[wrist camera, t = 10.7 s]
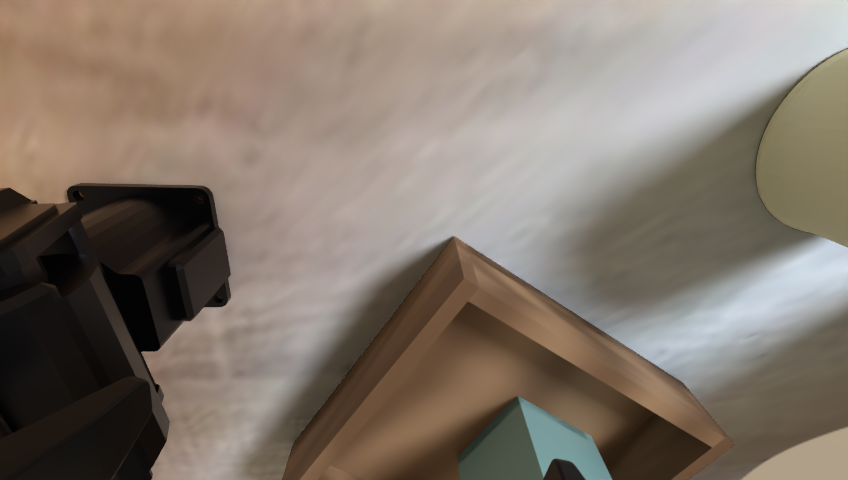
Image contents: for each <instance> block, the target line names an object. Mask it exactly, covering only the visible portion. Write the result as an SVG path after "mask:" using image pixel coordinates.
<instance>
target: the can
mask: <svg viewBox="0 0 848 480" xmlns="http://www.w3.org/2000/svg"><path fill="white" fill-rule="evenodd" d="M756 182H757V188H758V192H759V195H760V197H761V200H762V202H763V203H764V205H765V207H766V208H767V209H768V211H769V212H770V213H771V214H772V215H773V216H774V217H775V218H776V219H778V220H779V221H780V222H782V223H783V224H785V225H787V226H789V227H792V228H794V229H797V230H801V231H805V232H811V233H813V234H816V235H818V236H821V237H824V238H826V239H829V240H831V241H833V242H836V243H838V244H841V245H843V246H845V247H848V49H846V50H844V51H842V52H840V53H838V54H836V55H834V56H833V57H831V58H829V59H828V60H826V61H825V62H823V63H822V64H820V65H819V66H818V67H816V68H815V69H814V70H812V71H811V72H810V73H809V74H808V75H807V76H805V77H804V78H803V79H802V80H801V81H800V82H799V83H798V84H797V85H796V86H795V87H794V88H793V89H792V91H791V92H790V93H789V94H788V95H787V96H786V98H785V99H784V100H783V101H782V103H781V104H780V106H779V107H778V108H777V110H776V111H775V113H774V115H773V116H772V118H771V120H770V121H769V124H768V126H767V128H766V130H765V132H764V134H763V137H762V140H761V143H760V146H759V150H758V155H757V161H756Z"/></svg>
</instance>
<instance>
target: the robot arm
mask: <svg viewBox="0 0 848 480" xmlns="http://www.w3.org/2000/svg"><path fill="white" fill-rule="evenodd" d="M79 191H80V192H82V193H83V195H84V198H83V197H81V196H80V194H79ZM197 193H200V194H202V195H203V197H204V201H202V200H200V199H199V198H198V197H197ZM67 195H68V199H69V202H70V203H63V204H38V203H37V201H36V200H34V201H32V200H30V199H28V198H26V197H25V196H23V195H21V194H20V193H18V192H16V191H14V190H13V189H11V188H2V189H0V480H151V479H152V476H153V473H152V471H151V468H152V466H153V465H154V463H155V461H156V459H157V458H158V456H159V454H160V452H161V450H162V449H163V447H164V445H165V443H166V441H167V435H168V429H169V423H170V421H169V419H168V416H167V414H166V412H165V410H164V408H163V405H162V401H163V397H164V395H163V392H162V390H161V388H160V386H159V385H158V384H155V382H154V380H153V377H152V375H151V373H150V371H149V369H148V366H147V364H146V362H145V360H144V358H143V356H142V353H141V352H143V351H158V350H159V349H160V348H161V347H162V345H163V344H164V343H165V342H166V341H167V340H168V339H169V337H170V336H171V335H172V334H173V333H174V332H175V331H176V329H177V328H178V327H179V326H180V325H181V324H182V323H183V321H191V320H193V319H194V318H195V317H196V315H197V314H198V313H199V312H200V311H201V309H202V308H203V307H223V306H225V305H226V304H227V303H228V301H229V300H230V298H231V293H230V288H229V282H228V277H229V276H230V274H231V273H230V267H229V261H228V255H227V250H226V244H225V238H224V233H223V231H222V230H221V229H220V228H219V226H218V220H217V215H216V209H215V203H214V198H213V194H212V192H211V191H210V190H209V189H208V188H207V187H205V186H193V185H144V184H94V183H80V184H76V185H73V186H71V187H70V188H68V191H67ZM217 295H220V296H222V298H223V299H219V298H218V297H217ZM543 480H586V479H585V478H584V476H583V475H582V474H581V472H580V471H579V470H578V468H577V467H576V466H575V464H574V463H572V462H571V461H568V460H562V459H557V458H555V459H553V460H552V461H551V463H550V465H549V467H548V469H547V472H546V474H545V476H544V478H543Z"/></svg>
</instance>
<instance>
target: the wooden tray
mask: <svg viewBox="0 0 848 480" xmlns="http://www.w3.org/2000/svg"><path fill="white" fill-rule="evenodd" d="M517 396H519V397H521V398H523V399H525V400H526V401H528V402H530V403H532V404H534V405H535V406H537V407H539V408H541V409H543V410H545V411H546V412H548V413H550V414H552V415H554V416H556V417H557V418H559V419H561V420H563V421H565V422H566V423H568V424H570V425H572V426H574V427H576V428H577V429H579V430H581V431H583V432H585V433H587V434H588V435H590V436H592V438H593V441H594V443H595V445H596V447H597V449H598V451H599V453H600V455H601V457H602V459H603V461H604V463H605V466H606V468H607V470H608V472H609V474H610V476H611V478H612V480H688V479H690V478H691V477H692V476H694V475H695V474H696V473H698V472H699V471H700V470H701V469H703V468H704V467H705V466H707V465H708V464H709V463H711V462H712V461H713V460H715V459H716V458H717V457H719V456H720V455H721V454H723V453H724V452H725V451H726V450H728V449H729V448H730V447H732V446H733V445H734V443H733V442H732V441H731V440H730V438H729V437H728V436H727V435H726V434H725V432H724V431H723V430H722V429H721V428H720V426H719V425H718V424H717V423H716V422H715V421H714V419H713V418H712V417H711V416H710V415H709V413H708V412H707V411H706V410H705V409H704V407H703V406H702V405H701V404H700V403H699V402H698V400H697V399H696V398H695V397H694V396H693V394H692V393H691V392H690V391H689V390H688V388H687V387H686V386H685V385H684V384H683V383H682V382H681V381H679V380H678V379H676V378H674V377H673V376H671V375H670V374H668V373H667V372H665V371H664V370H662V369H660V368H659V367H657V366H656V365H654V364H653V363H651V362H649V361H648V360H646V359H645V358H643V357H642V356H640V355H639V354H637V353H635V352H634V351H632V350H631V349H629V348H628V347H626V346H625V345H623V344H621V343H620V342H618V341H617V340H615V339H614V338H612V337H611V336H609V335H607V334H606V333H604V332H603V331H601V330H600V329H598V328H596V327H595V326H593V325H592V324H590V323H589V322H587V321H586V320H584V319H582V318H581V317H579V316H578V315H576V314H575V313H573V312H572V311H570V310H568V309H567V308H565V307H564V306H562V305H561V304H559V303H557V302H556V301H554V300H553V299H551V298H550V297H548V296H547V295H545V294H543V293H542V292H540V291H539V290H537V289H536V288H534V287H533V286H531V285H529V284H528V283H526V282H525V281H523V280H522V279H520V278H519V277H517V276H515V275H514V274H512V273H511V272H509V271H508V270H506V269H504V268H503V267H501V266H500V265H498V264H497V263H495V262H494V261H492V260H490V259H489V258H487V257H486V256H484V255H483V254H481V253H480V252H478V251H476V250H475V249H473V248H472V247H470V246H469V245H467V244H465V243H464V242H462V241H461V240H459V239H458V238H456V237H455V236H454V237H453V238H452V240H451V241H450V242H449V243H448V245H447V246H446V247H445V249H444V250H443V251H442V252H441V254H440V255H439V256H438V258H437V259H436V260H435V262H434V263H433V264H432V265H431V267H430V268H429V269H428V271H427V272H426V273H425V274H424V276H423V277H422V278H421V280H420V281H419V282H418V283H417V285H416V286H415V287H414V289H413V290H412V291H411V293H410V294H409V295H408V296H407V298H406V299H405V300H404V302H403V303H402V304H401V305H400V307H399V308H398V309H397V311H396V312H395V313H394V315H393V316H392V317H391V318H390V320H389V321H388V322H387V324H386V325H385V326H384V327H383V329H382V330H381V331H380V333H379V334H378V335H377V336H376V338H375V339H374V340H373V342H372V343H371V344H370V346H369V347H368V348H367V349H366V351H365V352H364V353H363V355H362V356H361V357H360V358H359V360H358V361H357V362H356V364H355V365H354V366H353V368H352V369H351V370H350V371H349V373H348V374H347V375H346V377H345V378H344V379H343V380H342V382H341V383H340V384H339V386H338V387H337V388H336V389H335V391H334V392H333V393H332V395H331V396H330V397H329V399H328V400H327V401H326V402H325V404H324V405H323V406H322V408H321V409H320V410H319V411H318V413H317V414H316V415H315V417H314V418H313V419H312V420H311V422H310V423H309V424H308V426H307V427H306V428H305V430H304V431H303V432H302V433H301V435H300V436H299V437H298V439H297V440H296V441H295V442H294V444H293V446H292V449H291V453H290V456H289V459H288V462H287V466H286V469H285V472H284V475H283V479H282V480H460V477H459V468H458V459H457V457H458V456H459V455H460V454H461V453H462V452H463V451H464V449H465V448H466V447H467V446H468V445H469V444H470V443H471V442H472V441H473V440H474V439H475V438H476V437H477V436H478V435H479V434H480V433H481V432H482V431H483V430H484V429H485V428H486V427H487V426H488V425H489V424H490V423H491V422H492V421H493V420H494V419H495V418H496V417H497V416H498V415H499V414H500V413H501V412H502V411H503V410H504V409H505V408H506V407H507V406H508V405H509V404H510V403H511V402H512V401H513V400H514V399H515V398H516V397H517Z"/></svg>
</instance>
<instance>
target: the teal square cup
mask: <svg viewBox="0 0 848 480" xmlns="http://www.w3.org/2000/svg"><path fill="white" fill-rule="evenodd" d="M555 458H557V459H562V460H568V461H571V462H572V463H574V464H575V466H576V467H577V468H578V470H579V471H580V472H581V474H582V475H583V476H584V478H585V479H586V480H612V478H611V476H610V474H609V472H608V470H607V468H606V466H605V463H604V461H603V459H602V457H601V455H600V453H599V451H598V449H597V447H596V445H595V443H594V441H593V438H592V436H590V435H588V434H587V433H585V432H583V431H581V430H579V429H577V428H576V427H574V426H572V425H570V424H568V423H566V422H565V421H563V420H561V419H559V418H557V417H556V416H554V415H552V414H550V413H548V412H546V411H545V410H543V409H541V408H539V407H537V406H535V405H534V404H532V403H530V402H528V401H526V400H525V399H523V398H521V397H519V396H517V397H516V398H515V399H514V400H513V401H512V402H511V403H510V404H509V405H508V406H507V407H506V408H505V409H504V410H503V411H502V412H501V413H500V414H499V415H498V416H497V417H496V418H495V419H494V420H493V421H492V422H491V423H490V424H489V425H488V426H487V427H486V428H485V429H484V430H483V431H482V432H481V433H480V434H479V435H478V436H477V437H476V438H475V439H474V440H473V441H472V442H471V443H470V444H469V445H468V446H467V447H466V448H465V449H464V451H463V452H462V453H461V454H460V455H459V456H458V457H457V459H458V468H459V477H460V480H543V478H544V476H545V474H546V472H547V469H548V467H549V465H550V463H551V461H552V460H553V459H555Z"/></svg>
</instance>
